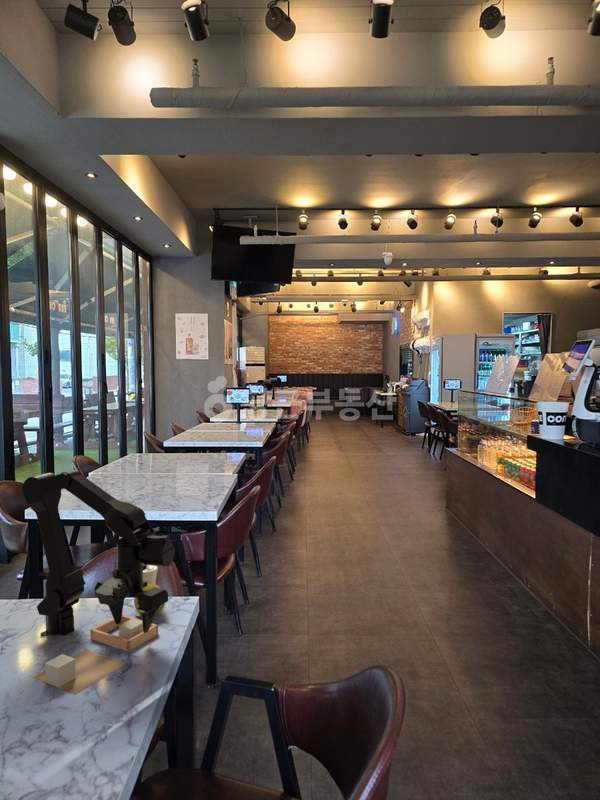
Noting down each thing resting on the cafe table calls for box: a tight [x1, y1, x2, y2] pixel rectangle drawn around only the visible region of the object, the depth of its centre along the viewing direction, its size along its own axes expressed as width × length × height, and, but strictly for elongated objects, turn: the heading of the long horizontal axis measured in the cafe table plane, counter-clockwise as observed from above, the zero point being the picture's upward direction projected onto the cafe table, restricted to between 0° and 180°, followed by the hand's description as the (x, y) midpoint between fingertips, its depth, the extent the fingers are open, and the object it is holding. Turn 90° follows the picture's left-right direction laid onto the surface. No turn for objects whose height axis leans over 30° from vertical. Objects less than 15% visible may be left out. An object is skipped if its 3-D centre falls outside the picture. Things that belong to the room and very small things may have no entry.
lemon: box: [133, 584, 166, 616], centre depth 142 cm, size 11×8×8 cm
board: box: [33, 649, 128, 696], centre depth 114 cm, size 13×13×1 cm
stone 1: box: [44, 653, 76, 689], centre depth 110 cm, size 4×4×4 cm
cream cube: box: [118, 619, 143, 640], centre depth 127 cm, size 4×4×4 cm
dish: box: [89, 614, 159, 652], centre depth 129 cm, size 12×9×3 cm
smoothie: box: [143, 565, 159, 585], centre depth 150 cm, size 6×6×14 cm
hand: (131, 627), depth 127 cm, fingers open, 9 cm apart
